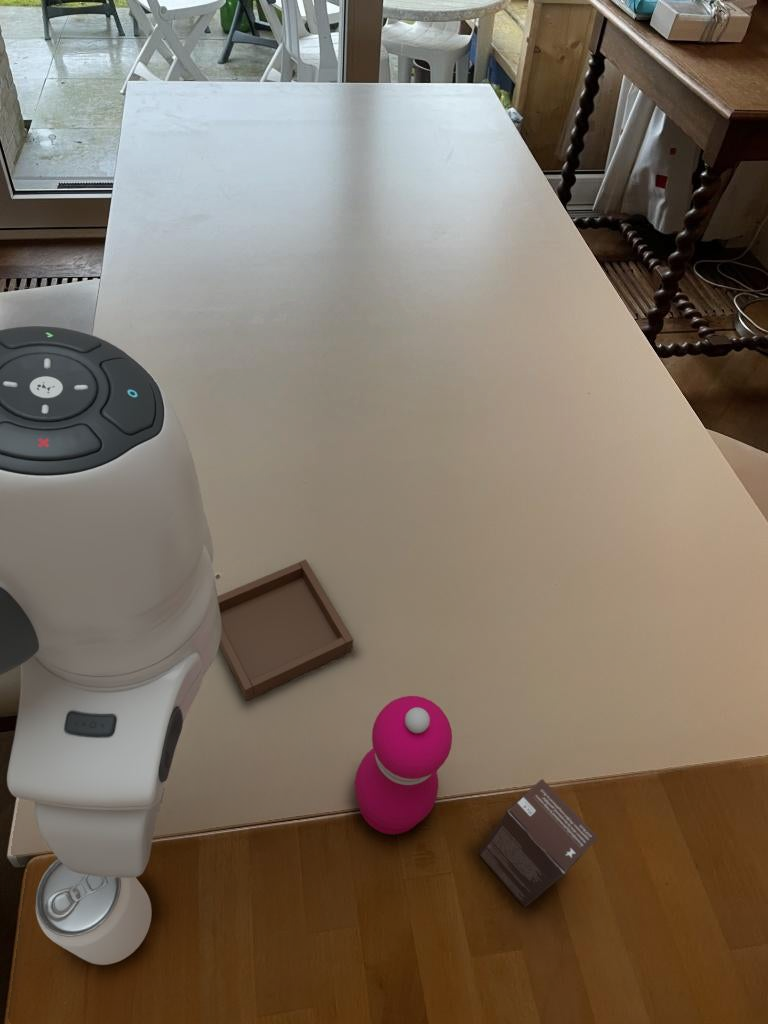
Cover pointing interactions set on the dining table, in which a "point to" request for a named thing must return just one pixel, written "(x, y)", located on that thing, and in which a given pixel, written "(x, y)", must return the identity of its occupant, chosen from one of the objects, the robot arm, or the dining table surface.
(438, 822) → the dining table surface
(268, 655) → the tray
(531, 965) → the dining table surface
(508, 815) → the box
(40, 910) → the can
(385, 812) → the pepper mill
